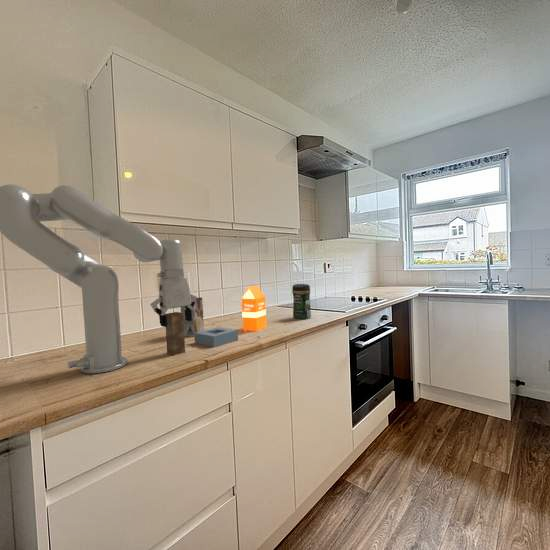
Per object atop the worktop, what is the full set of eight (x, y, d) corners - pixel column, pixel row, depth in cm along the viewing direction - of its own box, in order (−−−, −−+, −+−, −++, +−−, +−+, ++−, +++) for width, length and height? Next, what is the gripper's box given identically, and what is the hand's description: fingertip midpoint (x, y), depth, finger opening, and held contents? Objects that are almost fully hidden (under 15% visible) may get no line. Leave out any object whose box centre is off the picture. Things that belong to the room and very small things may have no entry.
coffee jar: (290, 318, 164) (289, 284, 163) (300, 316, 169) (298, 283, 168) (304, 320, 157) (302, 284, 156) (313, 317, 162) (312, 283, 162)
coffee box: (191, 331, 139) (189, 297, 139) (204, 331, 138) (202, 297, 138) (181, 336, 130) (179, 299, 130) (195, 336, 129) (193, 299, 129)
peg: (174, 355, 102) (171, 314, 102) (167, 353, 105) (164, 313, 105) (185, 352, 106) (183, 312, 105) (178, 350, 108) (176, 311, 108)
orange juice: (266, 327, 142) (264, 285, 142) (257, 331, 134) (255, 286, 134) (252, 326, 146) (250, 285, 145) (242, 330, 138) (240, 287, 137)
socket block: (214, 347, 111) (213, 336, 111) (195, 342, 118) (194, 332, 118) (238, 340, 120) (237, 330, 120) (218, 336, 128) (218, 327, 127)
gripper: (154, 277, 96) (159, 330, 96) (199, 272, 109) (203, 319, 110) (143, 277, 100) (147, 327, 101) (187, 273, 114) (191, 317, 114)
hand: (176, 323), depth 105 cm, fingers open, 9 cm apart
